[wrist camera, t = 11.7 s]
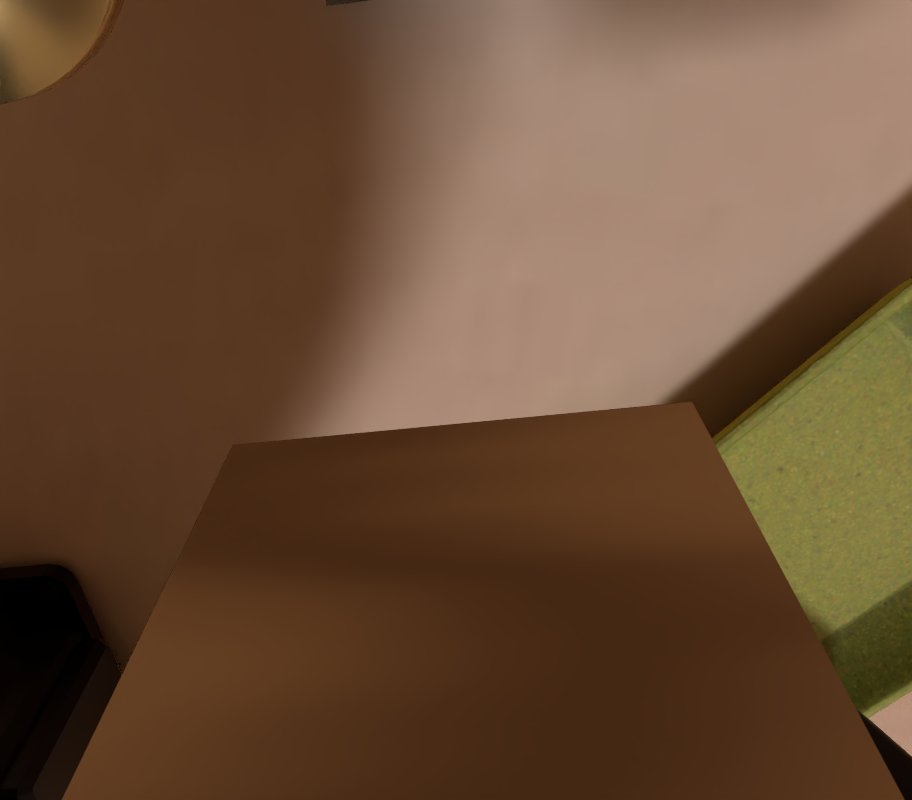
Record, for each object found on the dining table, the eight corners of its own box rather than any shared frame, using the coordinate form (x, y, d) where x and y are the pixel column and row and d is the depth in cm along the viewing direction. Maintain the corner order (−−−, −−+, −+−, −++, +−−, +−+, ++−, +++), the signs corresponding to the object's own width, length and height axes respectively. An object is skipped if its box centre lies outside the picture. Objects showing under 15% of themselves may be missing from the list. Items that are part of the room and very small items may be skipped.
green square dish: (1111, 473, 18) (1185, 531, 16) (796, 678, 21) (829, 746, 19) (889, 219, 15) (949, 254, 13) (565, 498, 18) (577, 557, 16)
